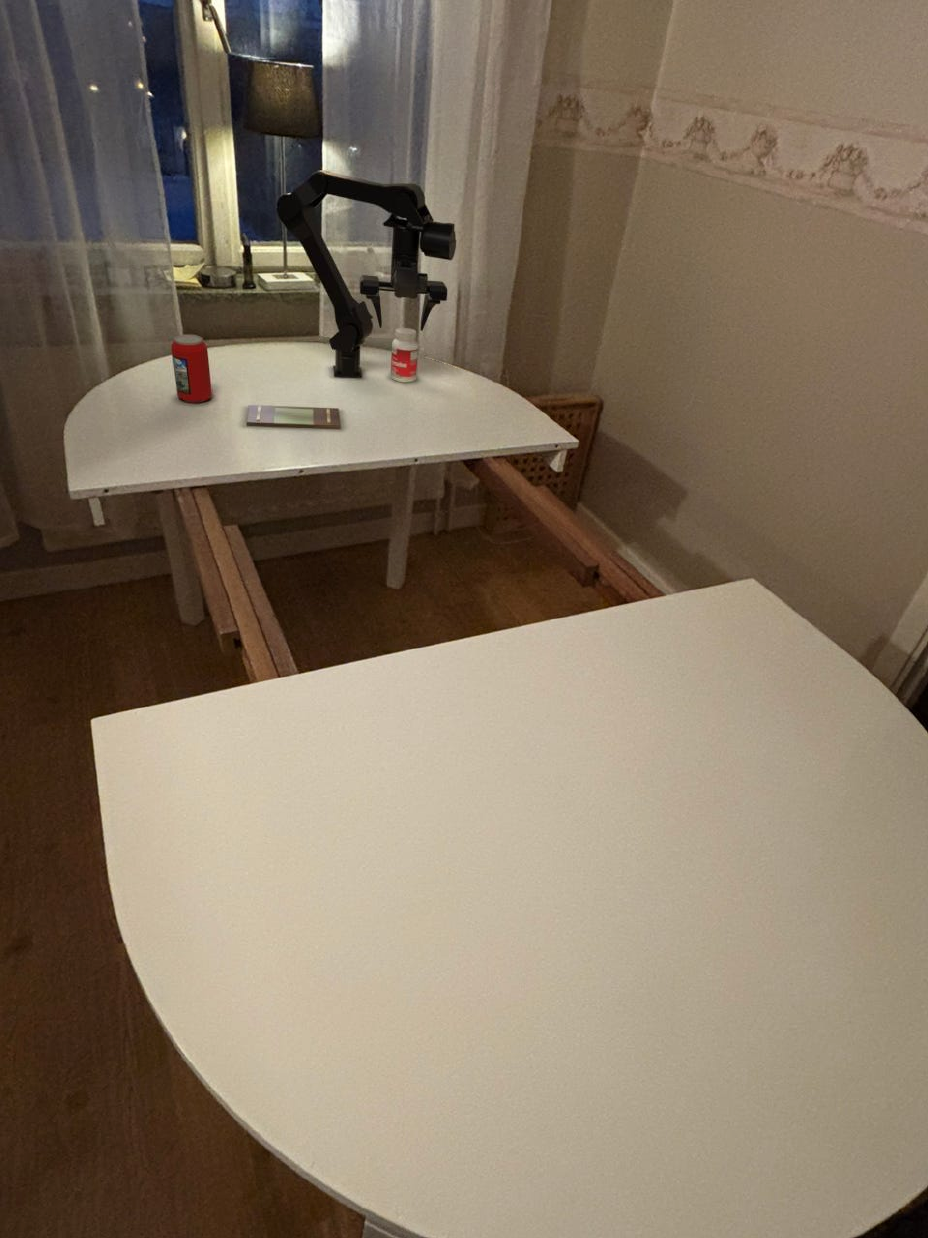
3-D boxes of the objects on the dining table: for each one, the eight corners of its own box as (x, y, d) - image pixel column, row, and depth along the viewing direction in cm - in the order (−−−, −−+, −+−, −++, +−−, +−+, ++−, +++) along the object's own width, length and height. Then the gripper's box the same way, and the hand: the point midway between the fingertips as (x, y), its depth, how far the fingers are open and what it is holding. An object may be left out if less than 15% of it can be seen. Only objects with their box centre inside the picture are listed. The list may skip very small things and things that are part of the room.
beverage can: (175, 393, 153) (167, 333, 146) (209, 391, 155) (203, 332, 148) (180, 405, 148) (172, 344, 141) (215, 403, 151) (209, 343, 144)
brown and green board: (249, 408, 150) (248, 403, 150) (338, 411, 154) (338, 407, 153) (246, 426, 143) (246, 421, 143) (340, 429, 147) (340, 424, 146)
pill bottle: (384, 377, 174) (386, 328, 168) (402, 372, 178) (405, 325, 172) (404, 384, 171) (407, 336, 165) (421, 379, 176) (425, 332, 169)
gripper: (362, 256, 148) (360, 336, 157) (454, 264, 151) (446, 342, 160) (360, 245, 156) (358, 321, 166) (447, 253, 160) (440, 327, 169)
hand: (401, 328), depth 165 cm, fingers open, 9 cm apart
